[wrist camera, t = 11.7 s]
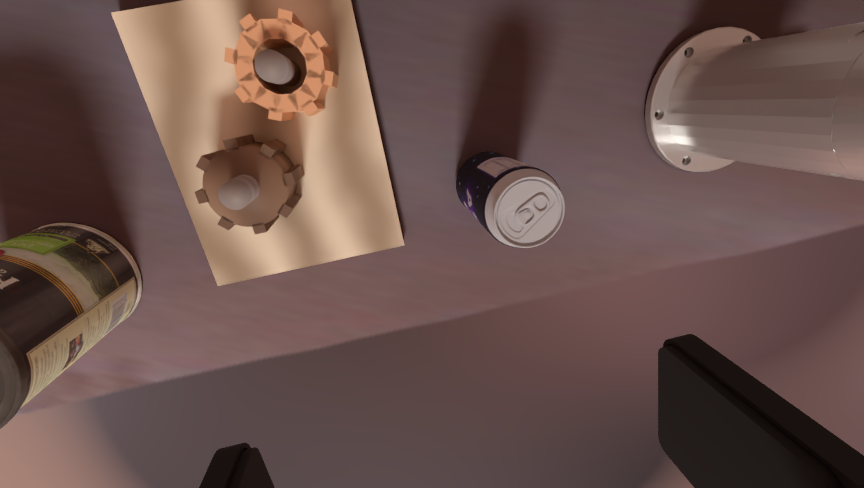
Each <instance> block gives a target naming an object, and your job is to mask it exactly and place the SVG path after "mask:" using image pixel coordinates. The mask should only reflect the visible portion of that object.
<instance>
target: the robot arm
mask: <svg viewBox="0 0 864 488" xmlns="http://www.w3.org/2000/svg"><path fill="white" fill-rule="evenodd" d="M645 123H646V129H647V134H648V137H649V139H650V142H651V144H652V146H653V148H654V149H655V151H656V152H657V154H658V155H659V156H660V157H661V158H662V159H663V160H664V161H666V162H667V163H669V164H670V165H672V166H674V167H677V168H680V169H683V170H688V171H693V172H707V171H712V170H717V169H720V168H722V167H724V166H727V165H729V164H731V163H732V162H734V161H740V162H746V163H752V164H759V165H765V166H772V167H778V168H784V169H791V170H797V171H804V172H810V173H817V174H823V175H829V176H836V177H842V178H849V179H856V180H863V181H864V22H862V23H856V24H851V25H845V26H839V27H833V28H827V29H821V30H815V31H809V32H803V33H797V34H791V35H785V36H779V37H773V38H768V39H760V38H759V37H758V36H757V35H755V34H754V33H752V32H750V31H748V30H745V29H743V28H737V27H719V28H714V29H710V30H706V31H703V32H701V33H698V34H696V35H693V36H691V37H690V38H688V39H687V40H685V41H684V42H682V43H681V44H680V45H679V46H677V47H676V48H675V49H674V50H673V51H672V52H671V53H670V54H669V55H668V57H667V58H666V59H665V60H664V62H663V63H662V64H661V66H660V67H659V69H658V71H657V73H656V75H655V76H654V78H653V81H652V83H651V86H650V89H649V91H648V96H647V101H646V106H645ZM658 436H659V441H660V444H661V446H662V448H663V450H664V451H665V453H666V454H667V455H668V457H669V458H670V459H671V460H672V461H673V463H674V464H675V465H676V466H677V467H678V468H679V470H680V471H681V472H682V473H683V474H684V476H685V477H686V478H687V479H688V480H689V482H690V483H691V484H692V485H693V486H694V487H695V488H864V456H863V455H862V454H860V453H859V452H858V451H856V450H855V449H853V448H852V447H850V446H849V445H848V444H846V443H845V442H844V441H842V440H841V439H839V438H838V437H837V436H835V435H834V434H832V433H831V432H829V431H828V430H827V429H825V428H824V427H823V426H821V425H820V424H818V423H817V422H816V421H814V420H813V419H811V418H810V417H809V416H807V415H806V414H804V413H803V412H802V411H800V410H799V409H797V408H796V407H795V406H793V405H792V404H790V403H789V402H788V401H786V400H785V399H783V398H782V397H781V396H779V395H778V394H776V393H775V392H774V391H772V390H771V389H769V388H768V387H767V386H765V385H764V384H762V383H761V382H760V381H758V380H757V379H755V378H754V377H753V376H751V375H750V374H748V373H747V372H746V371H744V370H743V369H741V368H740V367H739V366H737V365H736V364H734V363H733V362H732V361H730V360H729V359H727V358H726V357H725V356H723V355H722V354H720V353H719V352H718V351H716V350H715V349H713V348H712V347H711V346H709V345H708V344H706V343H705V342H704V341H702V340H701V339H699V338H698V337H697V336H695V335H692V334H688V335H684V336H680V337H675V338H672V339H668V340H666V341H665V342H664V344H663V347H662V348H660V349H659V352H658ZM199 488H274V485H273V483H272V481H271V478H270V476H269V473H268V471H267V468H266V466H265V464H264V461H263V459H262V457H261V454H260V452H259V450H258V449H257V448H251V447H250V446H249V444H247V443H242V444H237V445H234V446H229V447H226V448H221V449H219V450H217V451H216V453H215V454H214V457H213V458H212V461H211V463H210V465H209V467H208V469H207V472H206V474H205V476H204V478H203V481H202V483H201V485H200V487H199Z"/></svg>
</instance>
